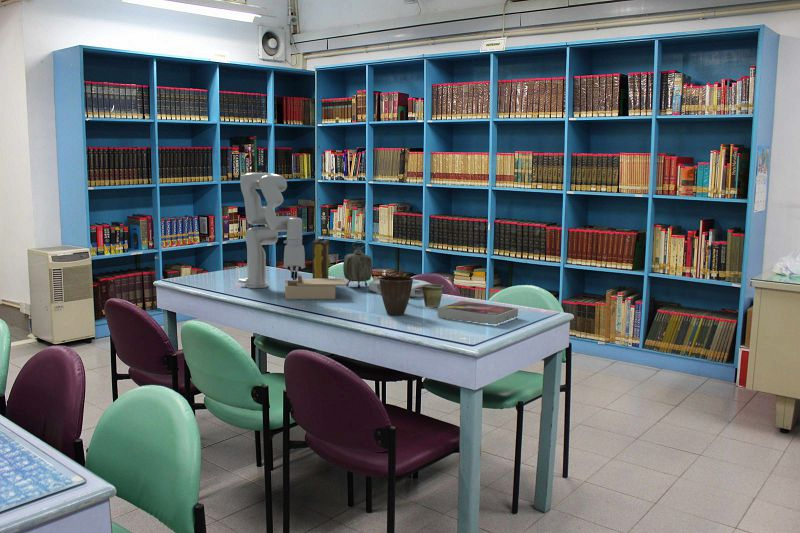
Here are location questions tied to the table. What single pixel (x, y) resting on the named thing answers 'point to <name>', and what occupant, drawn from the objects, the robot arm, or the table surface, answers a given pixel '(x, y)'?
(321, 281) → the mailer lid
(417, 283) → the document scanner
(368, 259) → the grey rounded piece
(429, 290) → the ceramic cup
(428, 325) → the table surface
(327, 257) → the book
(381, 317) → the table surface
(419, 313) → the table surface
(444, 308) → the product packaging
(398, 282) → the plant pot
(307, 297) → the box
